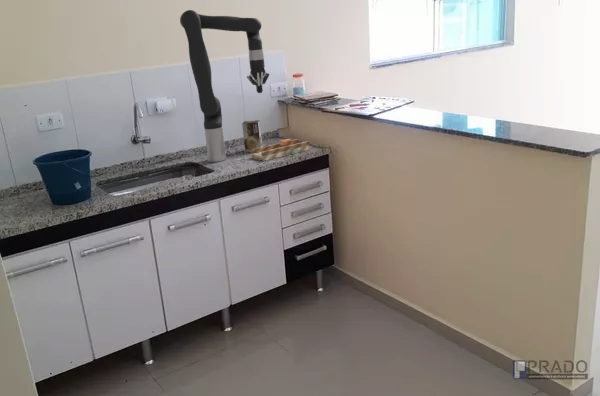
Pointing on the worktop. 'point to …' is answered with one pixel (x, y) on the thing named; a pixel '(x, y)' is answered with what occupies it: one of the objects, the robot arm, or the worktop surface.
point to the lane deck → (279, 150)
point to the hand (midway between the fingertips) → (259, 92)
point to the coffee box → (252, 135)
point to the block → (286, 142)
